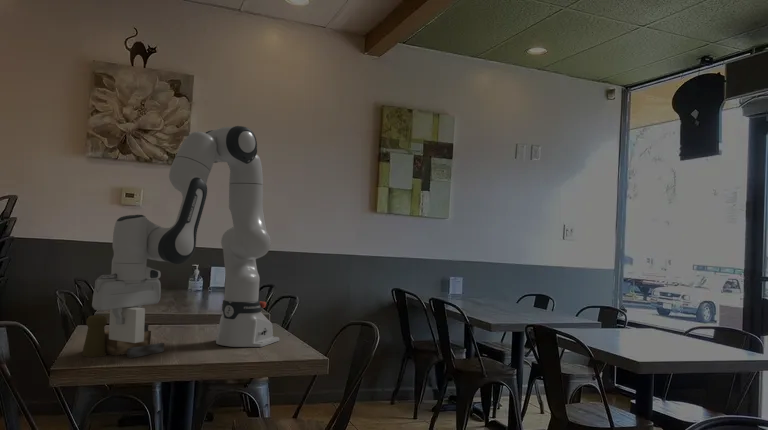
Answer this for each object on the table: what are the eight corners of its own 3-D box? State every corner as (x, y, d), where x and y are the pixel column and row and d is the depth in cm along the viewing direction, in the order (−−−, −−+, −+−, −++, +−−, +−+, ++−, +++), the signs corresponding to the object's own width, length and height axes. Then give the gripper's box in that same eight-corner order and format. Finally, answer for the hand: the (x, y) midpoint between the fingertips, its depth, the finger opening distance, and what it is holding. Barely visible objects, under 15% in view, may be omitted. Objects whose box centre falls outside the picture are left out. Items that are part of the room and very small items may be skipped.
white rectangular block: (108, 339, 159) (110, 306, 159) (120, 337, 163) (122, 305, 163) (134, 343, 155) (136, 309, 155) (146, 340, 158) (147, 308, 159)
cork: (96, 357, 158) (99, 317, 158) (76, 355, 159) (80, 315, 159) (110, 353, 163) (113, 315, 164) (92, 351, 165) (95, 313, 165)
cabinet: (128, 345, 176) (130, 321, 177) (163, 351, 170) (165, 326, 171) (94, 351, 166) (96, 325, 166) (130, 358, 159) (132, 330, 160)
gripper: (104, 275, 148) (102, 329, 148) (165, 271, 167) (163, 319, 166) (87, 274, 151) (85, 327, 150) (149, 270, 169) (147, 317, 169)
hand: (126, 323), depth 158 cm, fingers closed on white rectangular block, 3 cm apart
